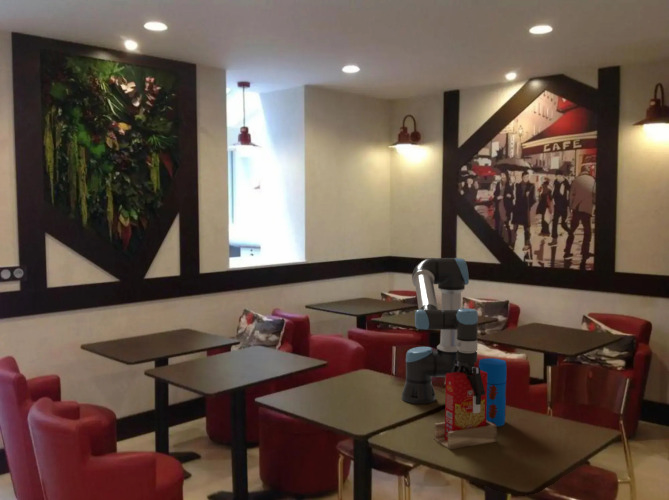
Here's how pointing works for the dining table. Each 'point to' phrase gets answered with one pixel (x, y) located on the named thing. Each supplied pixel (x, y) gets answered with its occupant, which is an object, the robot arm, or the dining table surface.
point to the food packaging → (463, 403)
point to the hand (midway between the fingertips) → (465, 407)
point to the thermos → (495, 389)
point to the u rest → (466, 435)
